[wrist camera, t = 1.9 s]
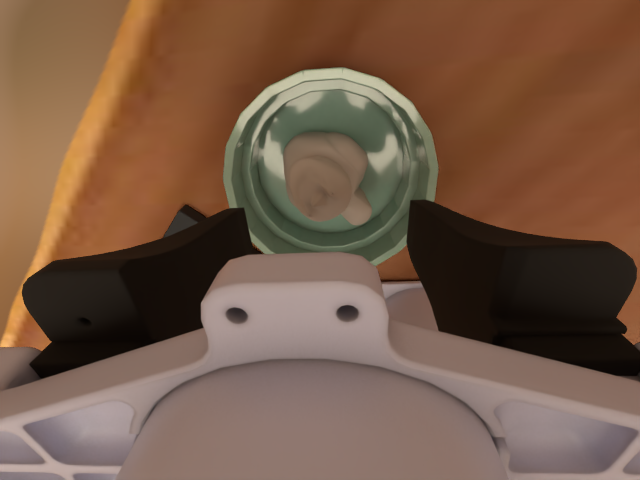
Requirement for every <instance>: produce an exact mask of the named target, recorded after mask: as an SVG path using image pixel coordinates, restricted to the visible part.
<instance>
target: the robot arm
mask: <svg viewBox="0 0 640 480" xmlns="http://www.w3.org/2000/svg"><path fill="white" fill-rule="evenodd" d="M406 243H407V247H408V251H409V254H410V258H411V261H412V263H413V266H414V268H415V270H416V272H417V275H418V277H419V279H420V281H400V282H381V280H380V277H379V273H378V270H377V268H376V267H375V266H374V265H372V264H371V263H370V262H369V261H367V260H366V259H365V258H364V257H362V256H360V255H355V254H349V253H344V252H318V253H288V254H258V255H251V252H252V248H253V247H252V242H251V237H250V233H249V228H248V223H247V218H246V213H245V209H244V207H243V208H229V209H226V210H223V211H221V212H219V213H217V214H215V215H213V216H211V217H209V218H207V219H205V220H203V221H201V222H199V223H197V224H195V225H193V226H190V227H188V228H186V229H184V230H182V231H179V232H177V233H175V234H172V235H170V236H167V237H164V238H161V239H159V240H156V241H152V242H149V243H145V244H142V245H138V246H135V247H131V248H127V249H123V250H118V251H114V252H109V253H104V254H98V255H92V256H85V257H78V258H71V259H63V260H56V261H53V262H51V263H50V264H48V265H47V266H45V267H44V268H42V269H41V270H39V271H38V272H36V273H35V274H34V275H32V276H31V277H29V278H28V279H27V281H26V282H25V283H24V284H23V289H22V296H23V300H24V304H25V306H26V308H27V309H28V311H29V313H30V314H31V315H32V317H33V318H34V319H35V321H36V322H37V323H38V325H39V326H40V327H41V329H42V330H43V331H44V333H45V334H46V335H47V337H48V338H49V340H50V341H52V342H51V343H50V344H49V345H48V346H47V347H46V348H45V349H44V350H43V351H40V350H38V349H36V348H32V347H0V480H640V342H639V343H636V344H635V345H633V344H632V343H631V342H629V341H628V340H627V339H626V338H625V337H624V336H623V335H622V334H625V333H626V331H627V328H626V326H625V325H624V324H623V323H622V322H621V321H619V320H618V319H617V318H616V317H617V315H618V313H619V312H620V310H621V308H622V306H623V305H624V303H625V301H626V300H627V298H628V296H629V295H630V293H631V291H632V289H633V286H634V284H635V282H636V279H637V268H636V265H635V263H634V261H633V259H632V258H631V257H630V256H628V255H627V254H626V253H625V252H623V251H622V250H620V249H619V248H617V247H615V246H614V245H612V244H611V243H609V242H604V241H589V240H573V239H562V238H553V237H545V236H538V235H532V234H526V233H522V232H517V231H512V230H507V229H503V228H499V227H496V226H492V225H489V224H486V223H483V222H480V221H477V220H474V219H472V218H469V217H466V216H464V215H461V214H459V213H457V212H454V211H452V210H450V209H448V208H446V207H443V206H441V205H439V204H437V203H434V202H432V201H429V200H425V199H423V200H410V208H409V218H408V229H407V240H406Z"/></svg>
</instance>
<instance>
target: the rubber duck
mask: <svg viewBox="0 0 640 480" xmlns="http://www.w3.org/2000/svg"><path fill="white" fill-rule="evenodd" d="M283 163H284V175H285V180H286V190H287V194H288V197H289V199H290V201H291V203H292V204H293V205H294V206H295V207H296V208H297V209H298V210H299V211H300V212H301V213H302V214H303V215H304V216H306V217H307V218H309V219H310V220H313V221H317V222H322V221H327V220H330V219H333V218H335V217H337V216H338V215H340V214H341V215H342V216H343V217H344V218H345V219H346V220H347V221H348V222H349V223H351V224H352V225H361V224H363V223H365V222H366V221H367V220H368V219H369V218H370V216H371V214H372V207H371V204H370V203H369V201H368V199H367V198H366V195H365V193H364V191H363V190H362V189H361V188H360V187H359V184H360V183H361V181H362V180H363V177H364V173H365V171H366V169H367V166H368V155H367V154H366V152H365V151H364V150H363V149H362V148H361V147H360V146H359V145H358V144H357V143H356V142H355V141H354V140H353V139H352V138H351V137H349V136H347V135H344V134H341V133H337V132H329V133H325V132H304V133H302V134H299V135H296V136H295V137H293V138H292V139H291V140H290V141H289V143H288V144H287V145H286V147H285V149H284V153H283Z"/></svg>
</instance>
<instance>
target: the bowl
mask: <svg viewBox="0 0 640 480" xmlns="http://www.w3.org/2000/svg"><path fill="white" fill-rule="evenodd" d="M304 132H325V133H329V132H337V133H341V134H344V135H347V136H349V137H351V138H352V139H353V140H354V141H355V142H356V143H357V144H358V145H359V146H360V147H361V148H362V149H363V150H364V151H365V152H366V154H367V155H368V166H367V169H366V171H365V173H364V177H363V180H362V181H361V183H360V184H359V187H360V188H361V189H362V190H363V191H364V193H365V195H366V198H367V199H368V201H369V203H370V204H371V207H372V214H371V216H370V218H369V219H368V220H367V221H366V222H365V223H363V224H361V225H352V224H351V223H349V222H348V221H347V220H346V219H345V218H344V217H343V216H342V215H341V214H340V215H338V216H337V217H335V218H333V219H330V220H327V221H322V222H317V221H313V220H310V219H309V218H307V217H306V216H304V215H303V214H302V213H301V212H300V211H299V210H298V209H297V208H296V207H295V206H294V205H293V204H292V203H291V201H290V199H289V197H288V194H287V190H286V180H285V175H284V163H283V153H284V149H285V147H286V145H287V144H288V143H289V141H290V140H291V139H292V138H293V137H295V136H296V135H299V134H302V133H304ZM438 167H439V166H438V162H437V157H436V152H435V147H434V142H433V137H432V134H431V131H430V130H429V128H428V127H427V125H426V123H425V122H424V120H423V119H422V117H421V115H420V114H419V112H418V111H417V109H416V107H415V106H414V104H413V103H412V102H411V101H410V100H409V99H408V98H406V97H405V96H404V95H402V94H401V93H400V92H398V91H397V90H396V89H395V88H393V87H392V86H391V85H389V84H388V83H387V82H385V81H384V80H383V79H381V78H378V77H375V76H372V75H368V74H365V73H362V72H358V71H355V70H351V69H348V68H345V67H343V68H342V67H335V68H322V69H309V70H303V71H299V72H297V73H295V74H293V75H291V76H289V77H286V78H284V79H282V80H280V81H278V82H276V83H274V84H271V85H269V86H268V87H266V88H265V89H264V90H263V91H262V92H261V93H260V94H259V95H258V96H257V97H256V98H255V99H254V100H253V101H252V102H251V103H250V104H249V105H248V106H247V107H246V108H245V109H244V110H243V111H242V112H241V114H240V116H239V118H238V120H237V122H236V124H235V127H234V129H233V131H232V133H231V135H230V138H229V140H228V142H227V144H226V148H225V160H224V171H223V182H224V186H225V190H226V195H227V199H228V203H229V207H230V208H243V207H244V209H245V213H246V218H247V223H248V228H249V233H250V237H251V241H252V242H253V243H254V244H255V245H256V246H257V247H258V248H259V249H260V250H261V251H262V252H263V253H264V254H288V253H318V252H344V253H349V254H355V255H360V256H362V257H364V258H365V259H366V260H367V261H369V262H370V263H371V264H372V265H374V266H377V265H378V264H380V263H382V262H383V261H385V260H387V259H388V258H390V257H391V256H393V255H395V254H396V253H398V252H399V251H401V250H402V249H403V248H404V246H405V245H406V244H407V243H406V240H407V229H408V218H409V208H410V200H423V199H425V200H429V201H432V202H434V199H435V192H436V185H437V177H438V170H439V168H438Z"/></svg>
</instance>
